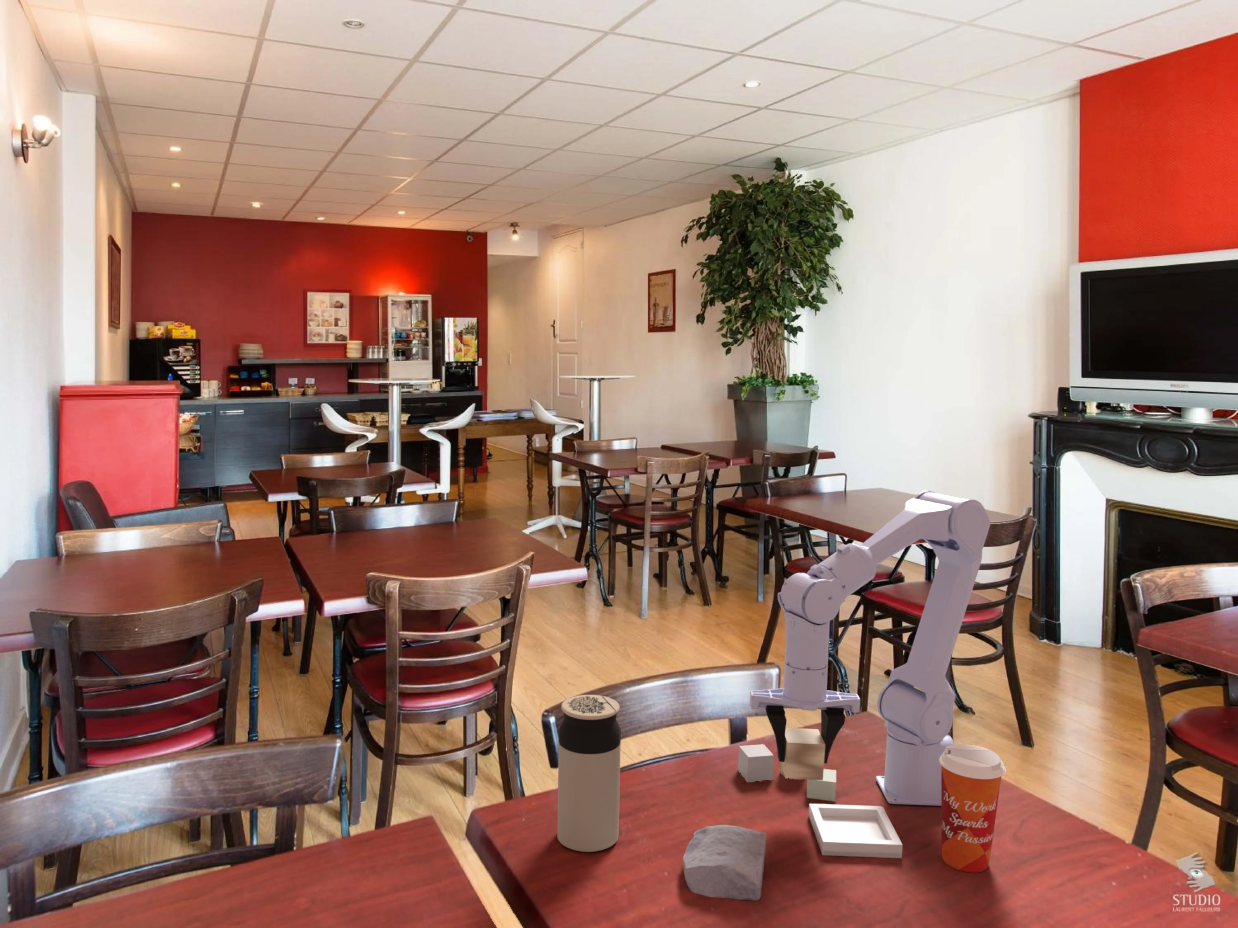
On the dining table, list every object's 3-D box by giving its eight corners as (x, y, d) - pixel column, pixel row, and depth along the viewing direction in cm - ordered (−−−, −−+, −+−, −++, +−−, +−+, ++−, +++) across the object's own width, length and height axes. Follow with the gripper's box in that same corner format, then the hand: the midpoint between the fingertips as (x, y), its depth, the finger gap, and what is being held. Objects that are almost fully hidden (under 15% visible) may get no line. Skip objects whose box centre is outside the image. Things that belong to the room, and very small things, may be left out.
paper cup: (932, 869, 113) (939, 761, 111) (933, 839, 120) (940, 737, 119) (1000, 883, 110) (1008, 773, 109) (997, 851, 118) (1005, 747, 116)
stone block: (682, 909, 107) (767, 904, 105) (676, 869, 107) (761, 864, 105) (694, 859, 119) (771, 853, 117) (688, 823, 119) (765, 817, 116)
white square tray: (881, 818, 125) (882, 806, 125) (901, 857, 116) (902, 844, 115) (808, 815, 126) (809, 803, 126) (822, 854, 116) (823, 841, 116)
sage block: (835, 789, 134) (836, 770, 134) (835, 802, 130) (836, 782, 130) (807, 786, 135) (808, 766, 135) (806, 798, 131) (807, 778, 131)
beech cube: (815, 763, 127) (818, 729, 127) (822, 779, 122) (825, 744, 122) (779, 761, 127) (782, 727, 127) (785, 778, 122) (787, 742, 122)
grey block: (762, 768, 140) (763, 744, 140) (772, 780, 136) (773, 755, 136) (738, 770, 139) (739, 745, 139) (747, 782, 136) (748, 757, 135)
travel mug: (561, 856, 114) (564, 718, 112) (553, 824, 122) (555, 695, 120) (624, 851, 116) (627, 714, 114) (611, 820, 123) (614, 691, 121)
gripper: (754, 671, 119) (751, 770, 121) (867, 675, 119) (862, 774, 120) (749, 654, 126) (746, 747, 128) (855, 657, 126) (851, 751, 127)
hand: (802, 759), depth 124 cm, fingers closed on beech cube, 5 cm apart
